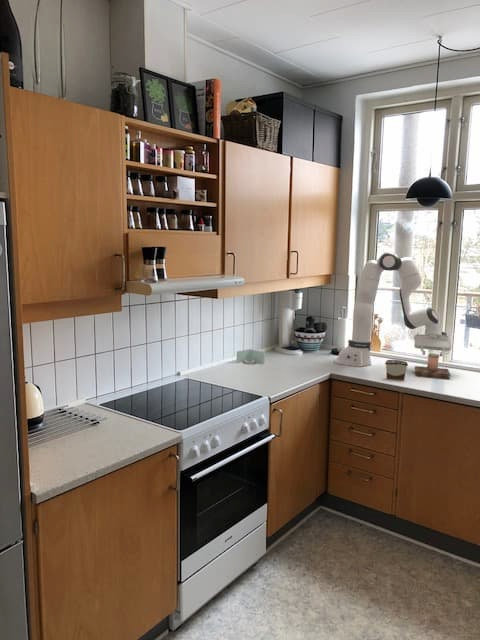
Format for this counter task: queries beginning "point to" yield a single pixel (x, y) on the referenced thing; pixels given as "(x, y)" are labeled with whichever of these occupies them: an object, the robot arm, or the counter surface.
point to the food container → (395, 369)
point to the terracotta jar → (432, 362)
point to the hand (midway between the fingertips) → (432, 354)
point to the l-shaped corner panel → (250, 356)
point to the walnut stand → (432, 372)
